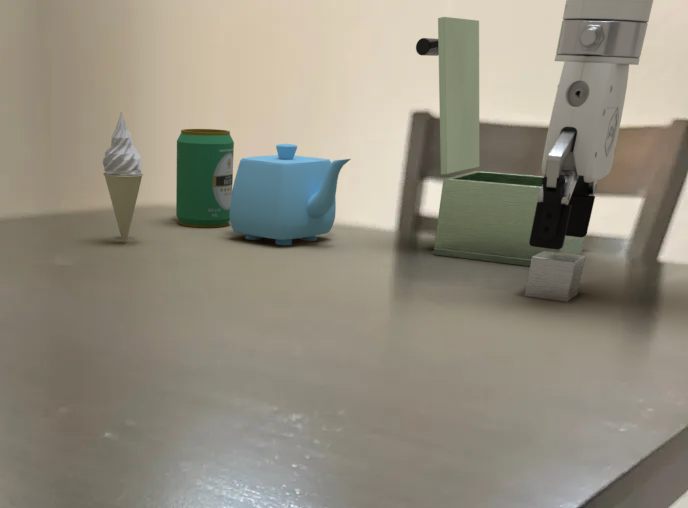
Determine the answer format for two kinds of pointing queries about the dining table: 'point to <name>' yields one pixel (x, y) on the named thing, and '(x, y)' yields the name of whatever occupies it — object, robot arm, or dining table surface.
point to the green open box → (492, 218)
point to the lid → (457, 91)
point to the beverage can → (204, 177)
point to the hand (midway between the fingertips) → (558, 241)
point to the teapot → (284, 196)
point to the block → (554, 275)
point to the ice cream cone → (123, 176)
